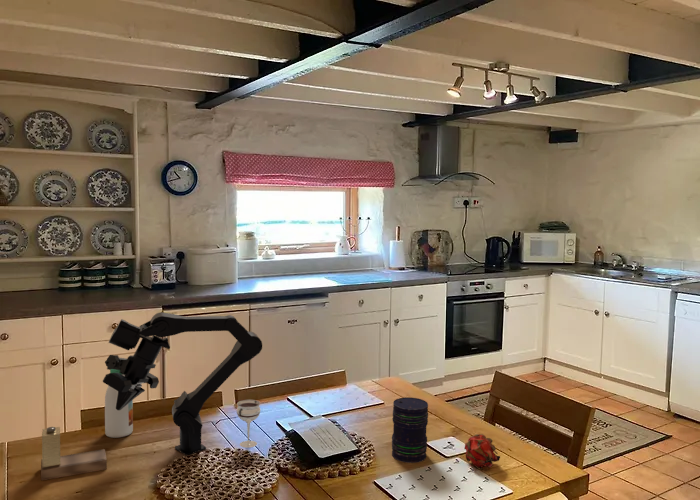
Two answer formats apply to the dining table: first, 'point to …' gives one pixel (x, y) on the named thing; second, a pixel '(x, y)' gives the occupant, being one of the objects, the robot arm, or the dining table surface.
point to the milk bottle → (117, 414)
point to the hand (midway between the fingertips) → (117, 409)
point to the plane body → (76, 464)
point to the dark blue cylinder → (409, 429)
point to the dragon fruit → (481, 451)
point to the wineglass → (248, 417)
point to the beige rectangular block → (51, 446)
